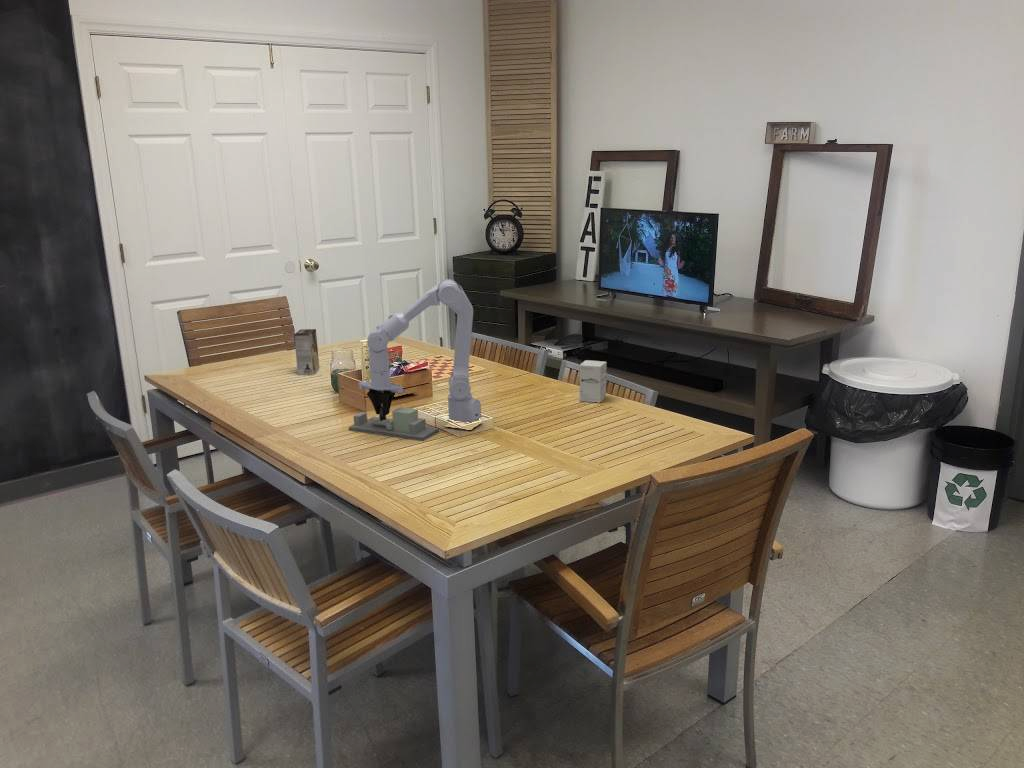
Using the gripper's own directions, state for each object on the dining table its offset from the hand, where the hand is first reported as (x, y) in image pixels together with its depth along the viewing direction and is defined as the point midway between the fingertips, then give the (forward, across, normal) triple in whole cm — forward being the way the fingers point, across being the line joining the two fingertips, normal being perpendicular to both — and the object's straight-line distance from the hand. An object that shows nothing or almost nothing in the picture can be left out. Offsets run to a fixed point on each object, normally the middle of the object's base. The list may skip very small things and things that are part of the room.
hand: (382, 413), depth 245 cm
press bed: (+5, -4, 0) cm, 6 cm away
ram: (+4, 0, 0) cm, 4 cm away
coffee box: (+5, +65, -48) cm, 81 cm away
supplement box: (+5, -49, -51) cm, 71 cm away
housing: (+4, -8, 0) cm, 9 cm away
